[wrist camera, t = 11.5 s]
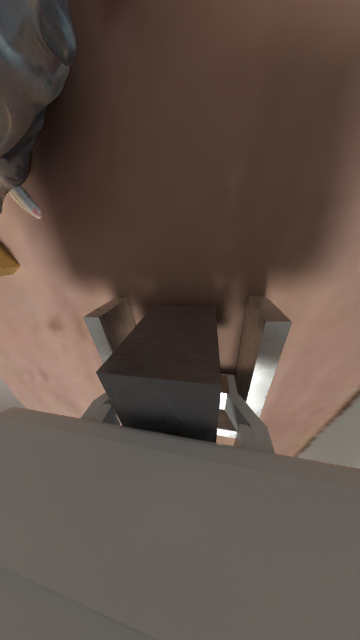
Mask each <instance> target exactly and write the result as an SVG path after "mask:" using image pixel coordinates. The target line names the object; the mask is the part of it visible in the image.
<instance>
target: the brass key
mask: <svg viewBox="0 0 360 640" xmlns="http://www.w3.org/2000/svg"><path fill="white" fill-rule="evenodd" d="M19 267H20V265H19V264H18V263H17V262H16V261H15V259H14V258H13V257H12V256H11V255H10V254H9V253H8V252H7V251H6V250H5V249H4V248H3V246H2V245H1V244H0V276H5V275H11V274H14V273H15V272H16V270H17V269H18V268H19Z"/></svg>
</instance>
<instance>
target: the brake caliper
mask: <svg viewBox="0 0 360 640" xmlns="http://www.w3.org/2000/svg"><path fill="white" fill-rule="evenodd" d="M75 54H76V38H75V34H74V29H73V24H72V20H71V15H70V10H69V6H68V1H67V0H0V214H1V212H2V205H3V201H4V198H5V196H6V194H7V193H8V192H9V194H10V195H11V196H12V198H13V199H14V200H15V201H16V202H17V203H18V204H19V205H20V206H21V207H22V208H23V209H24V210H26V211H27V212H28V213H30V214H32V215H33V216H34V217H36V218H38V219H41V211H40V209H39V207H38V206H37V205H36V204H35V202H34V201H33V200H32V199H31V197H30V196H29V195H28V193H27V192H26V191H25V190H24V189H23V188H22V187H21V186H20V185H22V184H23V183H24V182H25V180H26V179H27V177H28V174H29V158H30V155H31V152H32V148H33V145H34V144H35V141H36V139H37V136H38V134H39V132H40V130H41V129H42V126H43V122H44V116H45V110H46V106H47V105H48V104H49V103H51V102H52V101H53V100H54V99H55V98H56V97H57V96H58V95H59V94H60V93H61V91H62V90H63V87H64V85H65V82H66V80H67V77H68V74H69V71H70V66H72V65H73V63H74V61H75Z"/></svg>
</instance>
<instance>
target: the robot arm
mask: <svg viewBox="0 0 360 640" xmlns="http://www.w3.org/2000/svg"><path fill="white" fill-rule="evenodd" d="M221 383H222V388H221V398H220V407H219V409H222V410H225V412H226V413H227V415H228V417H229V419H230V420H231V422H232V424H233V425H234V427H235V429H236V430H237V434H236V438H235V442H234V446H230V445H224V444H219V443H213V442H208V441H202V440H197V439H191V438H186V437H180V436H175V435H169V434H164V433H158V432H152V431H147V430H141V429H136V428H130V427H125V426H120V422H119V420H118V418H117V417H118V415H117V413H116V411H115V409H114V407H113V405H112V403H111V401H110V399H109V397H108V395H107V393H104V394H103V395H101V396H100V397H98V398H97V399H95V400H94V401H93V402H92V403H91V405H90V406H89V407H88V409H87V410H86V412H85V413H84V414H83V416H82V417H81V418H75V417H69V416H64V415H58V414H52V413H47V412H41V411H36V410H30V409H25V408H20V407H12V408H9V409H7V410H4V411H2V412H0V640H360V469H357V468H352V467H347V466H341V465H335V464H329V463H324V462H319V461H313V460H308V459H302V458H297V457H291V456H285V455H280V454H275V452H274V448H273V445H272V442H271V439H270V435H269V432H268V429H267V427H266V426H265V424H264V423H263V422H262V421H261V420H260V418H259V417H258V416H257V415H256V414H255V413H254V411H253V410H252V409H251V408H250V407H249V406H248V404H247V403H246V402H245V401H244V400H243V398H242V397H241V396H240V395H238V394H237V388H236V383H235V378H234V375H229V374H227V375H226V374H221Z"/></svg>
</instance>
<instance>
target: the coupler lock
mask: <svg viewBox="0 0 360 640" xmlns="http://www.w3.org/2000/svg"><path fill="white" fill-rule="evenodd" d="M96 373H97V375H98V377H99V379H100V381H101V383H102V385H103V387H104V389H105V391H106V393H107V395H108V397H109V399H110V401H111V403H112V405H113V407H114V409H115V411H116V413H117V415H118V417H119V419H120V422H121V424H122V426H125V427H130V428H136V429H141V430H147V431H152V432H158V433H164V434H169V435H175V436H180V437H186V438H191V439H197V440H202V441H208V442H213V443H216V437H217V427H218V417H219V407H220V398H221V388H222V383H221V371H220V359H219V348H218V336H217V324H216V312H215V306H153V307H152V308H151V309H150V310H149V311H148V312H147V314H146V315H145V316H144V317H143V318H142V319H141V321H140V322H139V323H138V324H137V325H136V326H135V327H134V329H133V330H132V331H131V332H130V333H129V334H128V336H127V337H126V338H125V339H124V340H123V341H122V343H121V344H120V345H119V346H118V347H117V348H116V350H115V351H114V352H113V353H112V354H111V355H110V357H109V358H108V359H107V360H106V361H105V362H104V364H103V365H102V366H101V367H100V368H99V369H98V371H97V372H96Z"/></svg>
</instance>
